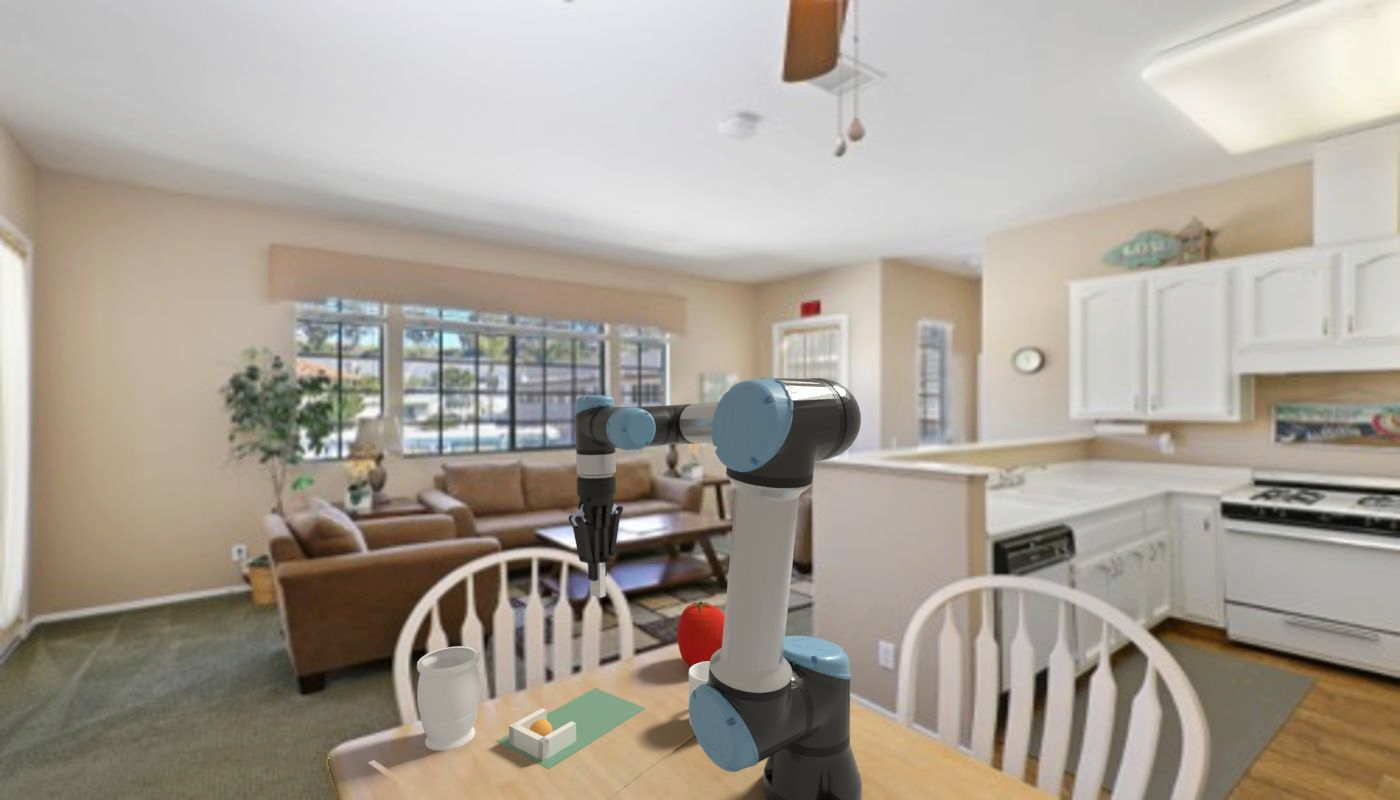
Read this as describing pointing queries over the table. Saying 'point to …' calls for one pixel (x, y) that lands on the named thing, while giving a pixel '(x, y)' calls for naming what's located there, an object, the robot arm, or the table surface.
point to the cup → (698, 676)
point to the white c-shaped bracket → (537, 743)
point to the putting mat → (584, 721)
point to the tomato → (700, 632)
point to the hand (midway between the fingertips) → (598, 595)
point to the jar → (448, 696)
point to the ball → (541, 727)
